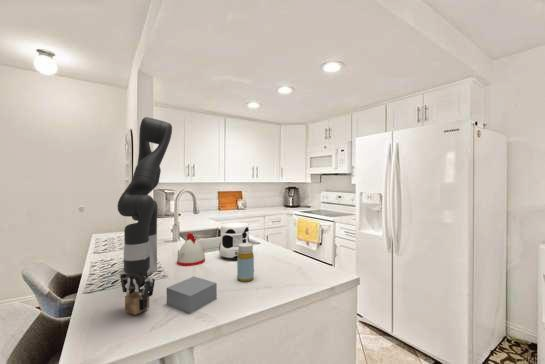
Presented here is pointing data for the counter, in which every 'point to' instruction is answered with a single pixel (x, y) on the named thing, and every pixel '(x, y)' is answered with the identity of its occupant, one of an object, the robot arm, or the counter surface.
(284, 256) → the counter surface
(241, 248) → the bottle
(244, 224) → the milk container
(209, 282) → the gray square block
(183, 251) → the kitchen timer
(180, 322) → the counter surface
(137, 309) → the walnut cube
